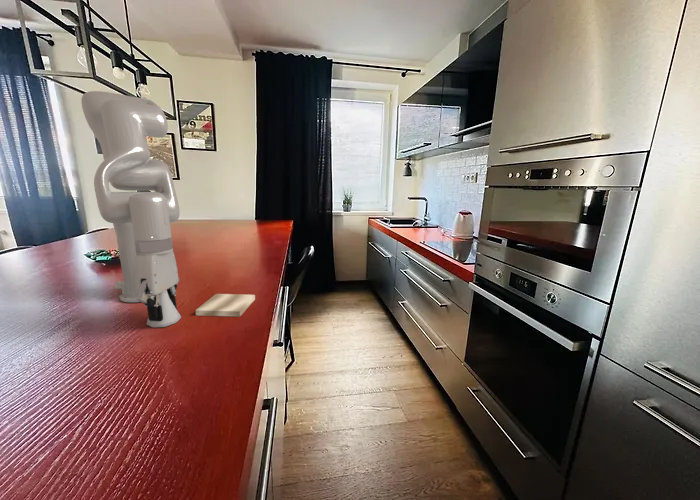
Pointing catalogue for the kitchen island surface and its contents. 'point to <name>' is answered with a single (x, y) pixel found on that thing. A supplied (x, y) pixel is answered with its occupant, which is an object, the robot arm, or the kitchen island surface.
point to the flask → (165, 312)
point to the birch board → (225, 305)
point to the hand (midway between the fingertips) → (163, 314)
